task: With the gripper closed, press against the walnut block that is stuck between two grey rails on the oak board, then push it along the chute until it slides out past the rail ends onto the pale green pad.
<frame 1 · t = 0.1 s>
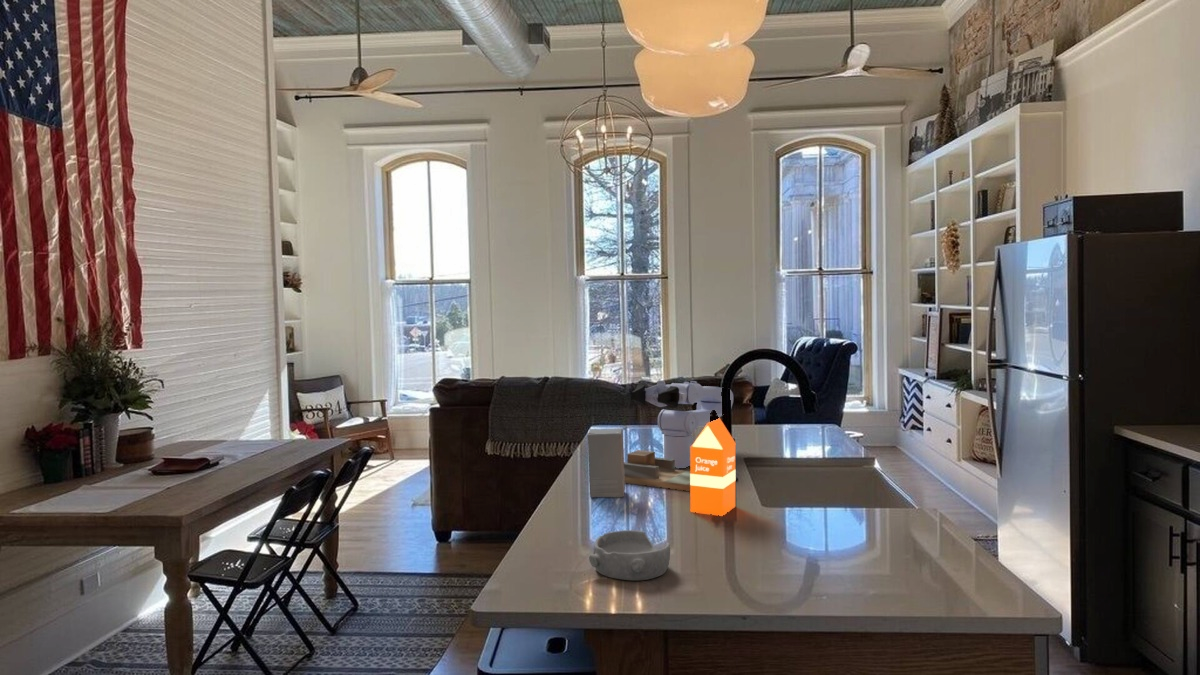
hand: (645, 396, 203), 22 cm above the kitchen island, tool horizontal, fingers open, 7 cm apart
orange juice: (713, 510, 176), on the kitchen island
dish: (630, 570, 138), on the kitchen island
chute board: (658, 479, 204), on the kitchen island
walnut block: (641, 462, 206), point 4 cm above the kitchen island, slide at 0.0 cm
skincare box: (606, 496, 189), on the kitchen island
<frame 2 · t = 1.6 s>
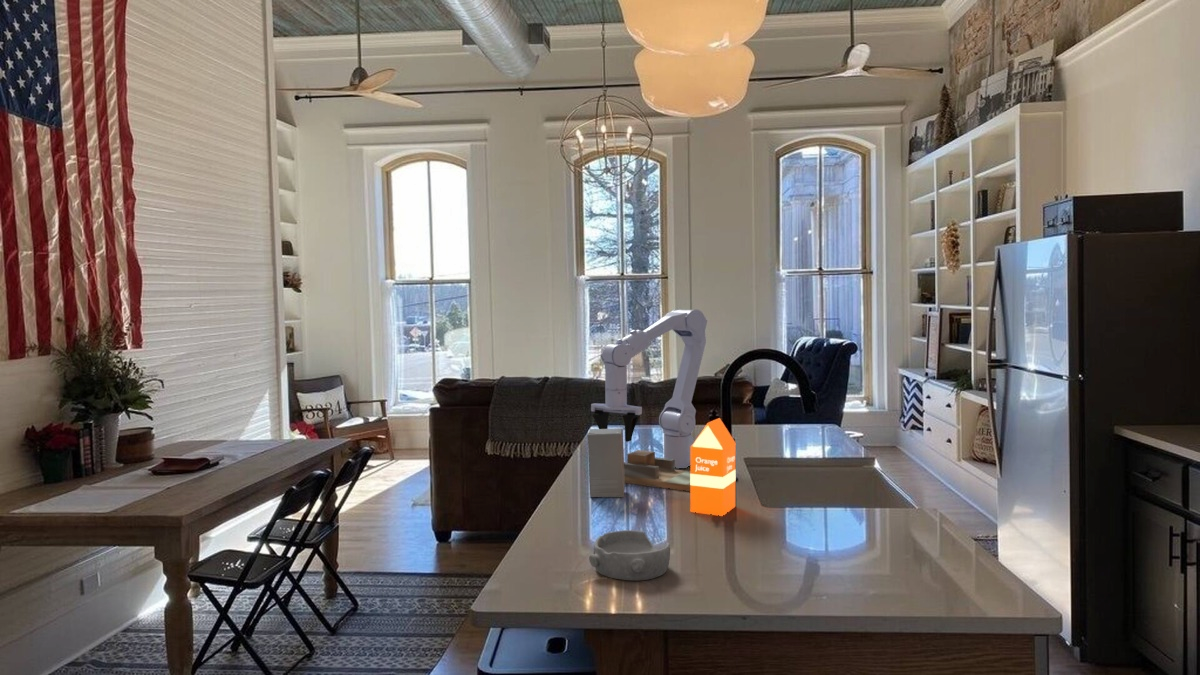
hand: (616, 439, 210), 9 cm above the kitchen island, tool pointing down, fingers open, 7 cm apart
nothing on the kitchen island moved.
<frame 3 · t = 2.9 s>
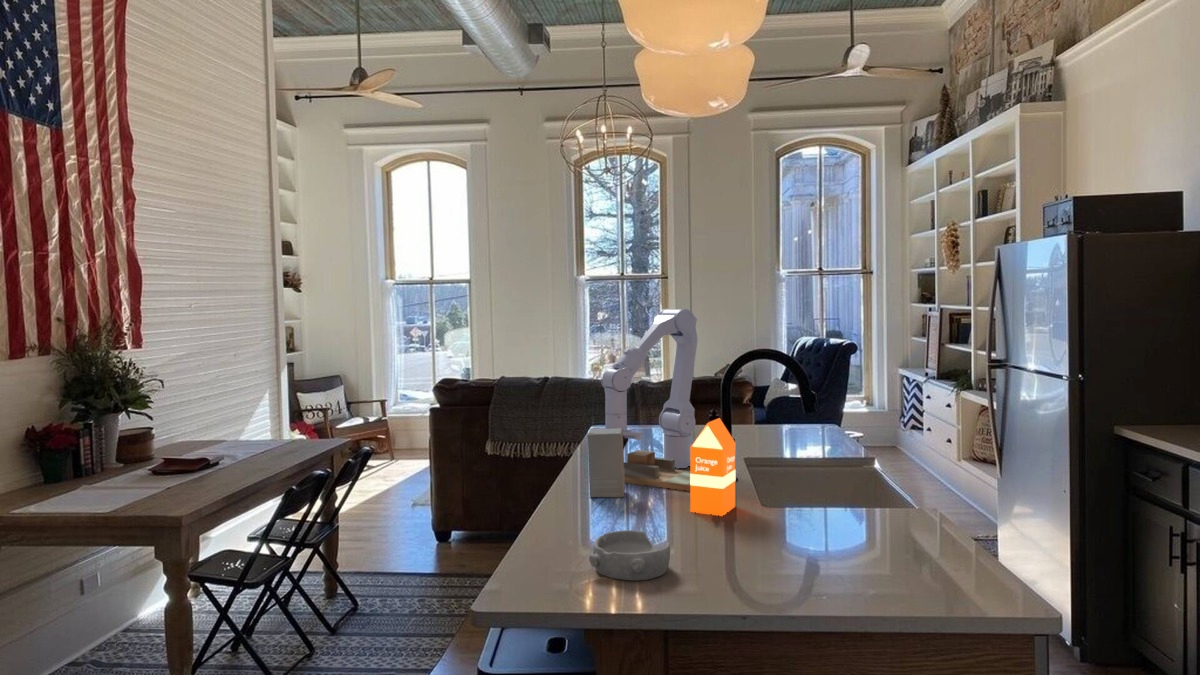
hand: (616, 464, 210), 3 cm above the kitchen island, tool pointing down, fingers closed
nothing on the kitchen island moved.
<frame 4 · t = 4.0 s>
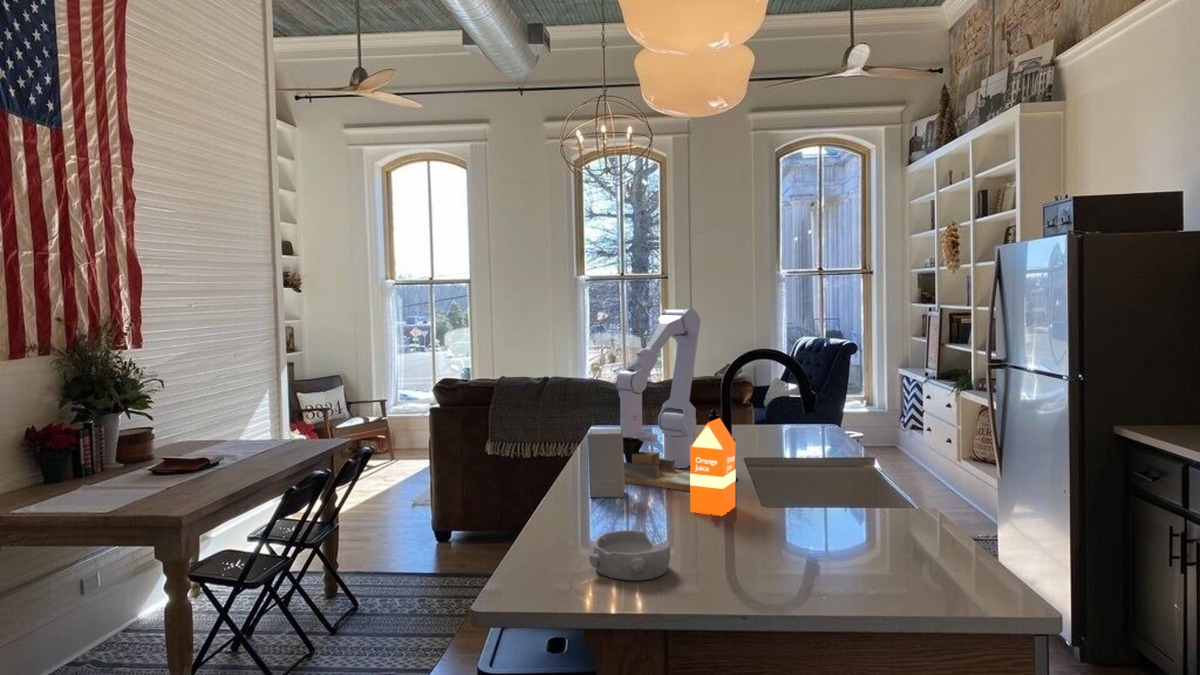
hand: (631, 466, 208), 3 cm above the kitchen island, tool pointing down, fingers closed
walnut block: (645, 462, 205), point 4 cm above the kitchen island, slide at 1.3 cm, touching gripper
everything else where it was.
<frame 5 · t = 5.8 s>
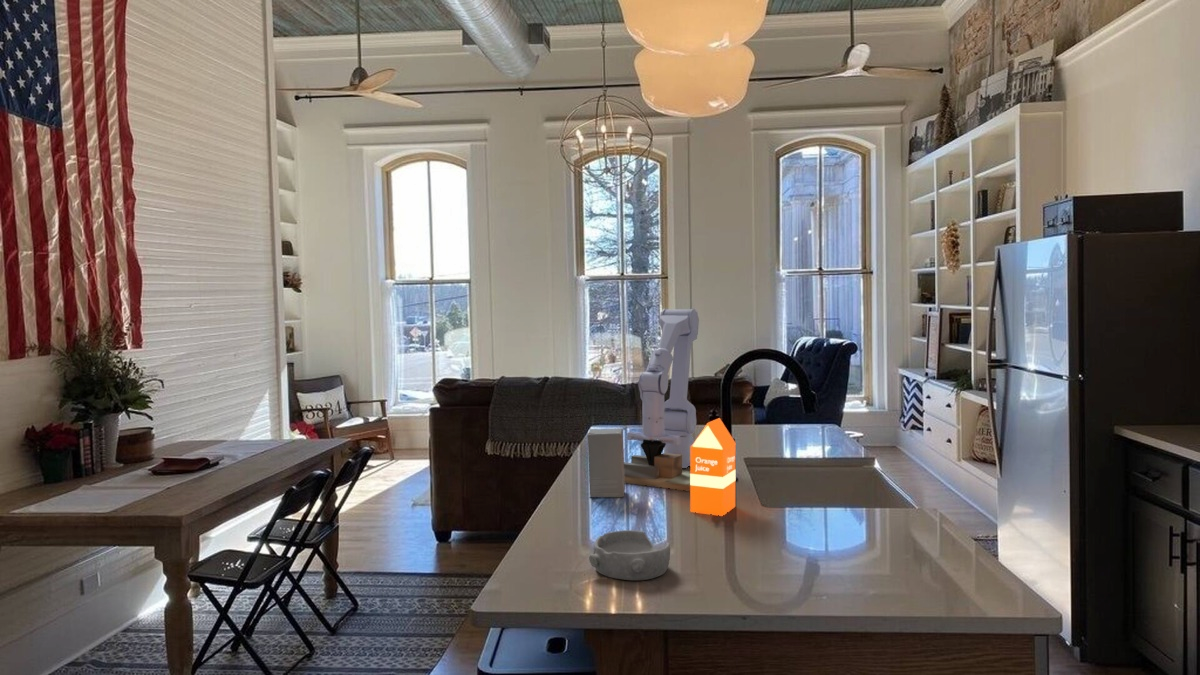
hand: (653, 469, 204), 3 cm above the kitchen island, tool pointing down, fingers closed
walnut block: (668, 465, 202), point 4 cm above the kitchen island, slide at 7.9 cm, touching gripper
everything else where it was.
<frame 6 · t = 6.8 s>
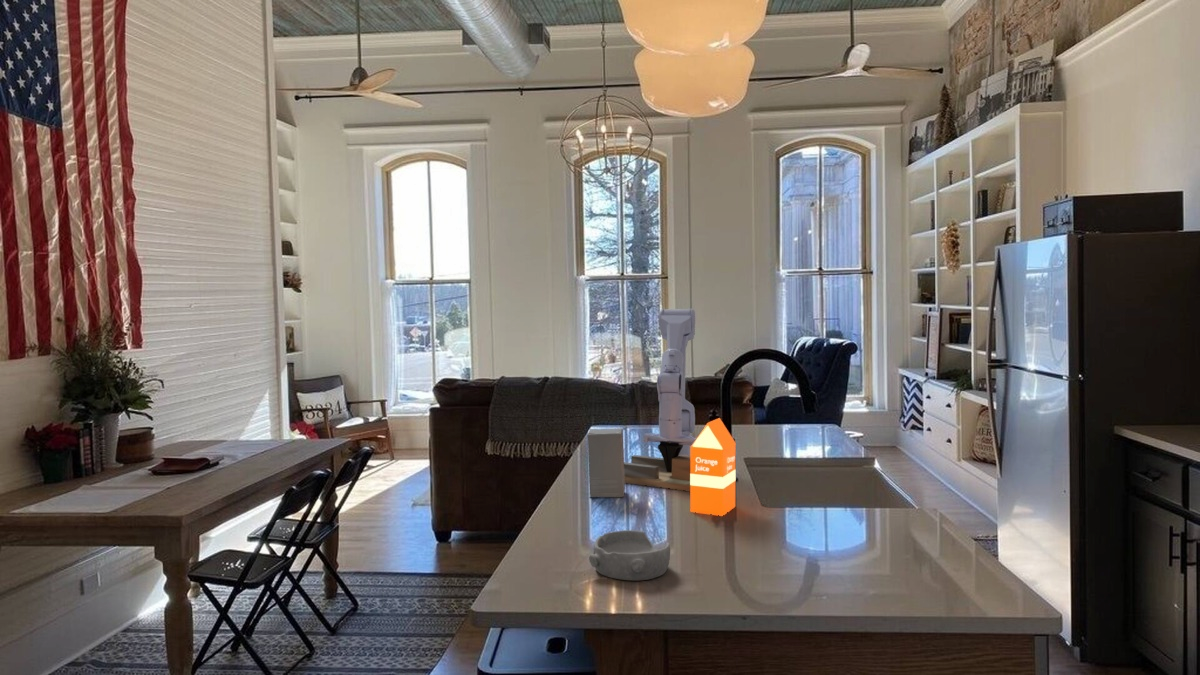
hand: (670, 471, 202), 3 cm above the kitchen island, tool pointing down, fingers closed
walnut block: (685, 467, 200), point 4 cm above the kitchen island, slide at 12.8 cm, touching gripper
everything else where it was.
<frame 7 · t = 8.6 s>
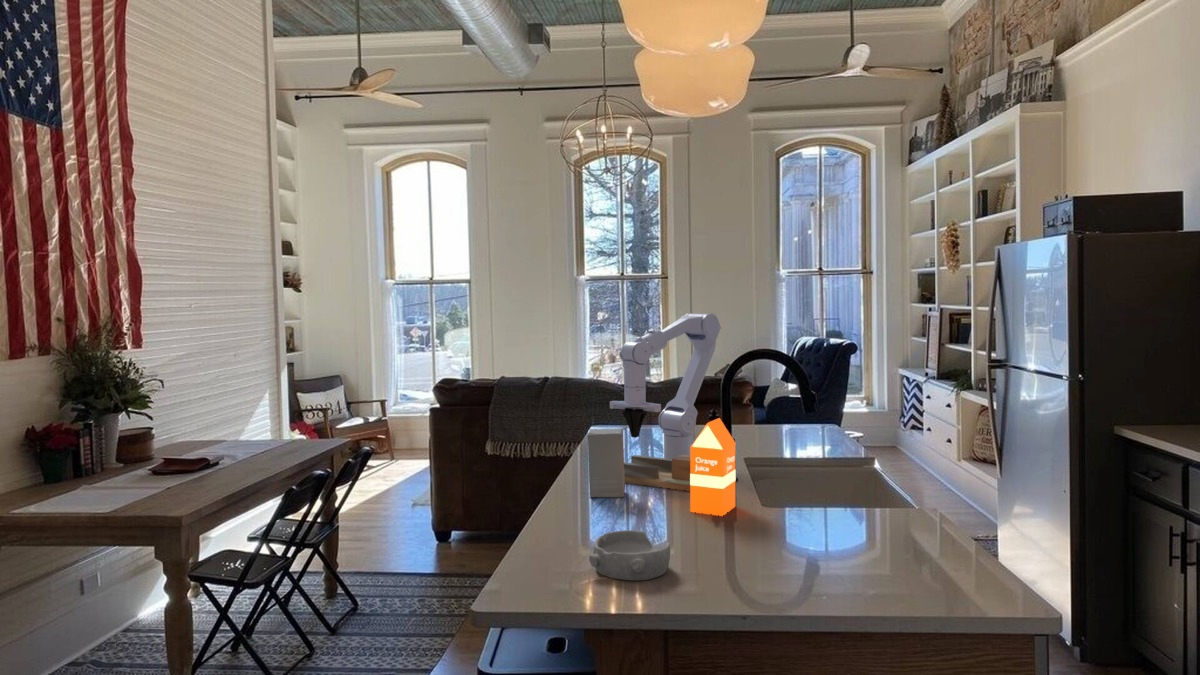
hand: (635, 436, 211), 10 cm above the kitchen island, tool pointing down, fingers closed
walnut block: (685, 467, 200), point 4 cm above the kitchen island, slide at 12.8 cm
everything else where it was.
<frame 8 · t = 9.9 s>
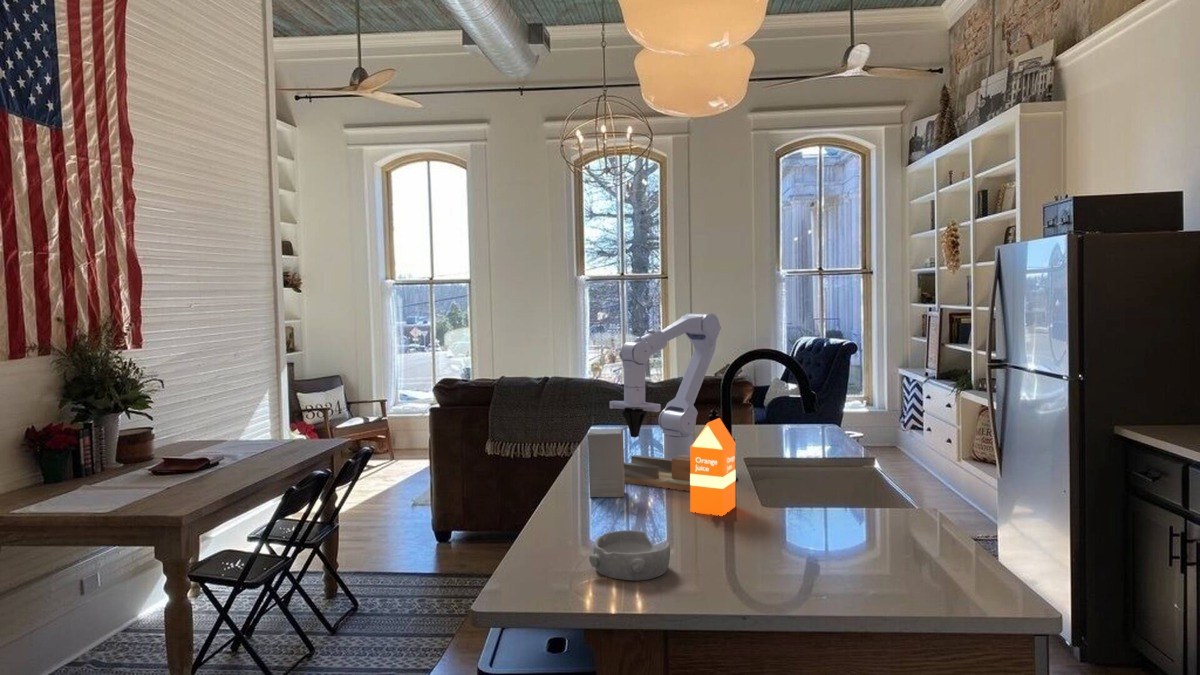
hand: (634, 436, 211), 10 cm above the kitchen island, tool pointing down, fingers closed
nothing on the kitchen island moved.
at the end: walnut block slide at 12.8 cm; the gripper is holding nothing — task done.
